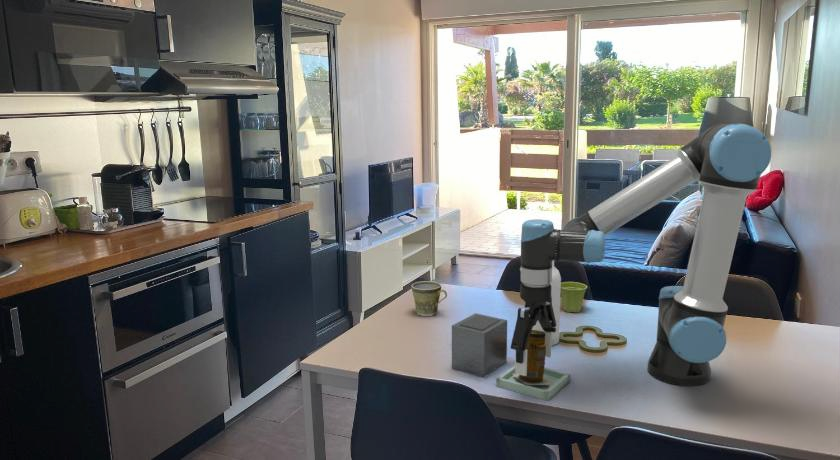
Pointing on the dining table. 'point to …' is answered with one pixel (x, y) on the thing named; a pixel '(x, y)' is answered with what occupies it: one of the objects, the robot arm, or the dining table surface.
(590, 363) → the dining table surface
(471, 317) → the unit
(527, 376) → the condiment
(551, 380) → the tray
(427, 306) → the ceramic cup
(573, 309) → the plant pot
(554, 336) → the bottle
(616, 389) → the dining table surface
